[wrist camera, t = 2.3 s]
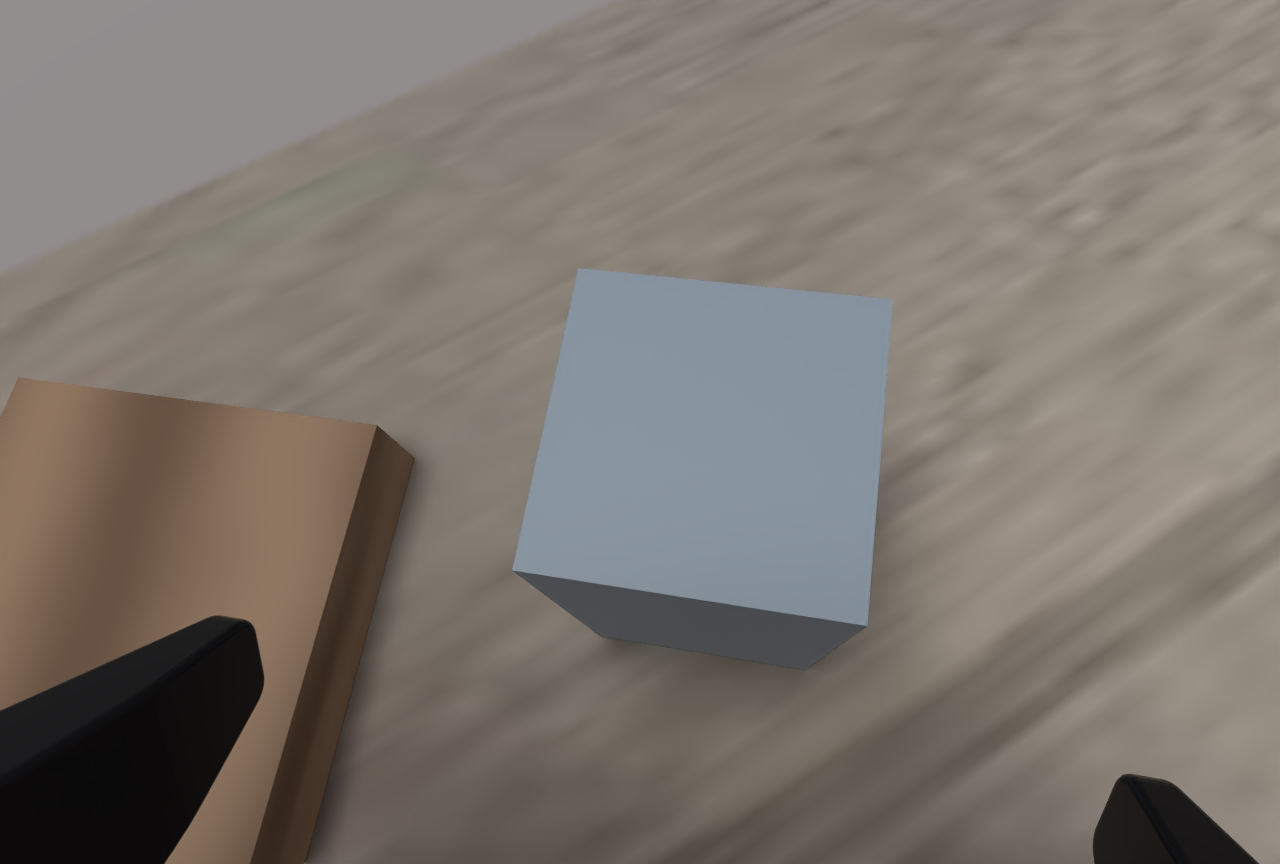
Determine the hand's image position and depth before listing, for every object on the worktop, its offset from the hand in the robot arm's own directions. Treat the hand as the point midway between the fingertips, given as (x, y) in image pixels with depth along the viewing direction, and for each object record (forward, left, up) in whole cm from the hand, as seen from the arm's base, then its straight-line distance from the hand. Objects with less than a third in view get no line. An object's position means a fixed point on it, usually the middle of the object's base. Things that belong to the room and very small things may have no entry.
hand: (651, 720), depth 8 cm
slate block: (+1, -4, -12) cm, 12 cm away
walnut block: (+13, +3, -12) cm, 18 cm away
